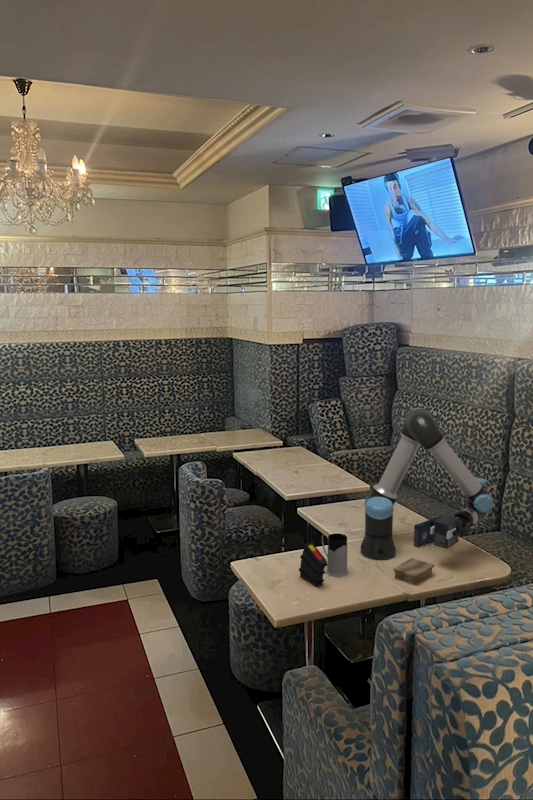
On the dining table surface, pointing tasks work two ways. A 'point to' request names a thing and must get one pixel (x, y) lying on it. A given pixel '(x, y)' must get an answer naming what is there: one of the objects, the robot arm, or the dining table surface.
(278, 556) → the dining table surface
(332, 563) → the glass holder
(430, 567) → the walnut stand
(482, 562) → the dining table surface
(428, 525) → the vhs cassette tape
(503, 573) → the dining table surface
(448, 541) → the small box
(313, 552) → the magazine
